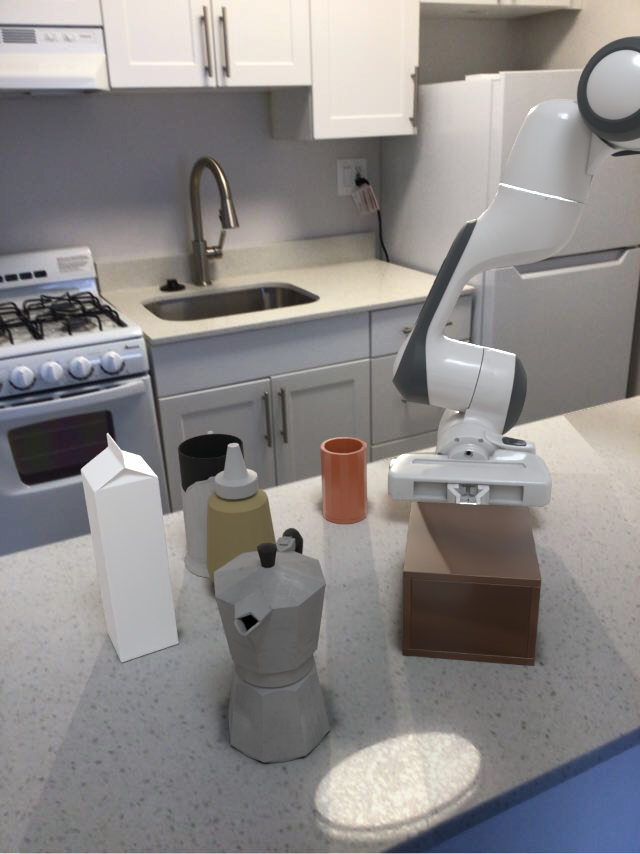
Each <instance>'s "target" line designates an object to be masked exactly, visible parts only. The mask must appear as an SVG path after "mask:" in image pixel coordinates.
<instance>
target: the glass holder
mask: <svg viewBox="0 0 640 854" xmlns="http://www.w3.org/2000/svg"><path fill="white" fill-rule="evenodd" d="M231 443H238V444H239V446H240V450H241V453H242V456H243V459H244V460H245V451H244V442H243V440H242V439H241V438H239V437H238V436H236V435H233V434H227V433H214V431H213V430H207V434H201V435H197V436H193V437H190V438H188V439H185V440H184V441H182V442H181V443H179V445H178V447H177V455H178V462H179V463H178V464H179V472H180V473H179V474H180V480H181V481H180V482H179V485H180V486H179V487H180V494H181V496H180V497H181V504H182V512H183V513H182V514H183V524H184V530H185V541H186V549H187V552H186V556H185V560H184V565H185V567H186V569H187V570H188V572H190V573H191V574H193V575H195V576H198V577H202V578H207V579H211V577H210V575H209V573H208V569H207V509H208V499H209V498H210V496H211V495H212V494H213V493H214V492H216V491H215V482H214V478H215V477H216V475H217V474H219V473H220V472H222V471H224V468H225V461H226V455H227V448H228V445H229V444H231Z"/></svg>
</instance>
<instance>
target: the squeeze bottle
mask: <svg viewBox="0 0 640 854" xmlns="http://www.w3.org/2000/svg"><path fill="white" fill-rule="evenodd" d="M214 482H215V491H216V492H214V493H213V494H212V495H211V496H210V498H209V499H208V509H207V569H208V573H209V575H210V577H211V578H210V580H212V583H213V584H214V572H215V571H216V570H218V569H219V568H221V567H222V566H224V565H225V564H227V563H228V562H230V561H231V560H233V559H234V558H236V557H237V556H239V555H240V554H242V553H247V552H256V551H257V546H259V545H260V544H262V543H268V542H270V543H273V544H276V543H277V541H276V535H275V530H274V525H273V519H272V518H273V517H272V513H271V507H270V502H269V496H268V494H267V492H266V491H264V490H263V489H261V488H259V487H260V485H259V475H258V473H257V472H256V471H254V470H252V469H250V468H247V466H246V463H245V458H244V459H243V456H242V453H241V450H240V446H239V444H238V443H231V444H229V445H228V448H227V455H226V461H225V468H224V471H222V472H220V473H219V474H217V475H216V477H215V478H214Z"/></svg>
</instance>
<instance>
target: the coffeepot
mask: <svg viewBox="0 0 640 854" xmlns="http://www.w3.org/2000/svg"><path fill="white" fill-rule="evenodd" d="M303 552H304V538H303V536H302V534H301V533H300V531H299V530H297V529H296V528H294V527H289V528H287V529H285V530H284V531H283V533H282V536H280V537H278V539H277V541H276V544H273V543H270V542H268V543H262V544H260V545H259V546H257V551H256V552H247V553H242V554H240V555H239V556H237V557H236V558H234V559H233V560H231V561H230V562H228V563H227V564H225V565H224V566H222V567H221V568H219V569H218V570H216V571H215V572H214V583H213V585H214V596H215V602H216V605H217V609H218V613H219V616H220V620H221V623H222V624H221V625H222V628H223V631H224V635H225V639H226V642H227V646H228V650H229V654H230V657H231V660H232V662H233V664H232V665H233V666H232V674H231V683H230V693H229V694H230V695H229V703H228V713H227V717H228V730H229V731H228V732H229V744H230V745H231V746H232V747H233V748H235V749H236V750H237V751H239V752H240V753H241V754H243V755H245V756H246V757H248V758H250V759H253V760H255V761H258V762H262V763H270V764H271V763H272V764H276V763H287V762H291V761H294V760H297V759H300V758H302V757H306V756H308V755H309V754H310V753H312V751H314V750H315V749H316V748H317V747H318V746H319V745H320V744H321V742H322V741H323V740H324V739H325V737H326V735H327V734H328V733H329V732H330V731H331V726H330V721H329V717H328V713H327V709H326V704H325V700H324V696H323V691H322V687H321V681H320V678H319V674H318V668H317V665H316V660H315V657H314V654H315V652H316V651H318V647H319V638H320V632H321V623H322V617H323V616H322V615H323V608H324V601H325V595H326V594H325V593H326V586H327V582H326V579H325V575H324V573H323V569H322V566H321V564H320V560H319V559H318V558H314V557H312V556H308V555H305V554H303Z"/></svg>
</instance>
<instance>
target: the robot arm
mask: <svg viewBox="0 0 640 854" xmlns="http://www.w3.org/2000/svg"><path fill="white" fill-rule="evenodd" d="M523 120H524V121H523V122H522V124H521V126H520V129H519V131H518V133H517V135H516V138H515V139H514V142H513V145H512V147H511V149H510V151H509V154H508V156H507V160H506V163H505V166H504V168H503V172H502V175H501V178H500V183H499V185H498V188H497V191H496V194H495V196H494V197H493V199H492V201H491V203H490V204H489V206H488V207H486V210H484V211H483V212H482V214H481V215H480V216H479V217H477V218H474V219H471V220H467V221H466V222H465V223H464V224H463V225H462V226H461V228H460V229H459V231H458V233H457V234H456V235H455V237H454V240H453V241H452V244H451V246H450V248H449V250H448V252H447V254H446V256H445V258H444V259H443V261H442V263H441V265H440V268H439V270H438V272H437V274H436V276H435V279H434V280H433V283H432V285H431V287H430V289H429V292H428V294H427V296H426V299H425V300H424V303H423V305H422V307H421V308H420V312H419V314H418V317H417V319H416V321H415V323H414V325H413V328H412V330H411V331H410V333H409V334H408V336H407V337H406V339H405V340H404V342H403V343H402V344H401V346H400V348H399V350H398V352H397V353H396V355H395V359H394V362H393V366H392V374H391V375H392V380H391V381H392V384H393V385H394V387H395V388H396V390H397V392H398V393H399V394H400V395H401V397H402V398H403V399H404V400H405V401H406V402H407V403H412V404H418V405H419V404H420V405H424V406H425V405H427V406H430V405H432V406H435V407H439V408H443V409H445V410H444V412H443V414H442V415H441V418H440V420H439V424H438V429H437V433H436V434H437V435H436V446H435V454H431V453H404V454H401V455H398V456H397V457H396V458H395V459H391V460H390V461H389V465H388V472H387V495H388V496H389V497H390V498H391V499H393V500H395V501H411V502H412V501H419V502H440V503H462V504H484V505H506V506H527V507H530V508H531V507H532V508H544V507H547V505H550V503H551V497H552V485H553V483H552V476H551V473H550V470H549V468H548V466H547V463H546V462H545V461H544V459H543V458H542V457H541V456H540V455H538V454H537V452H536V444H535V443H534V442H532V441H531V440H524V439H519V438H514V437H510V436H505V435H506V434H507V433H509V431H511V430H512V429H513V428H514V427H515V426H516V425H517V423H518V422H519V419H520V417H521V414H522V412H523V410H524V405H525V402H526V399H527V391H528V375H527V372H526V368H525V366H524V364H523V363H522V360H521V359H520V357H519V356H518V355H517V354H516V353H511V352H508V351H504V350H501V349H496V348H492V347H488V346H482V345H478V344H477V345H476V344H473V343H469V342H465V341H461V340H457V339H452V338H449V337H448V336H446V335H445V334H444V329H445V327H446V325H447V324H448V321H449V319H450V317H451V316H452V313H453V310H454V308H455V307H456V305H457V302H458V299H459V298H460V296H461V294H462V291H463V290H464V288H465V286H466V285H467V284H468V282H470V281H471V280H472V279H473V278H474V277H476V276H477V275H479V274H481V273H484V272H487V271H491V270H495V269H501V268H508V267H509V268H511V267H517V266H523V265H529V264H530V265H531V264H534V263H537V262H542V261H544V260H546V259H548V258H551V257H553V256H555V255H556V254H558V253H559V252H560V251H562V250H563V249H565V248H566V247H567V245H568V244H569V243H570V242H571V241H572V238H573V237H574V235H575V233H576V230H577V228H578V225H579V224H580V221H581V219H582V216H583V213H584V210H585V207H586V203H587V201H588V198H589V194H590V192H591V189H592V185H593V182H594V180H595V177H596V174H597V172H598V170H599V168H600V167H601V165H602V164H603V163H604V161H605V160H606V159H608V158H609V157H610V156H611V157H616V158H617V157H618V158H619V157H625V156H626V157H627V156H634V155H636V156H637V155H640V35H632V36H626V37H625V36H624V37H621V38H618V39H615V40H612V41H610V42H608V43H607V44H605V45H604V46H602V47H601V48H599V49H598V50H597V51H596V52H595V53H594V54H593V55H592V56H591V57H590V59H589V60H588V61H587V63H586V64H585V66H584V67H583V69H582V71H581V74H580V75H579V79H578V82H577V87H576V99H571V98H561V97H560V98H559V97H558V98H552V99H547V100H543V101H541V102H539V103H538V104H536V105H535V106H533V107H532V108H531V109H530V111H529V112H528V113H527V114H526V116H525V118H524V119H523Z"/></svg>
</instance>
